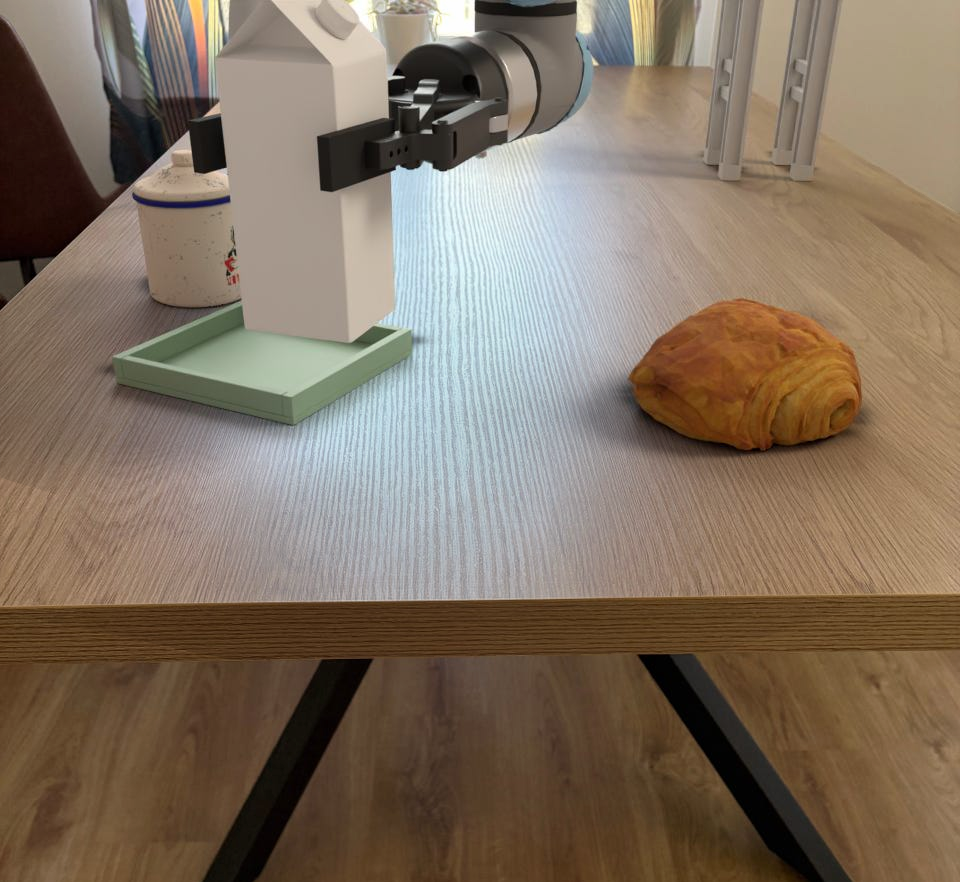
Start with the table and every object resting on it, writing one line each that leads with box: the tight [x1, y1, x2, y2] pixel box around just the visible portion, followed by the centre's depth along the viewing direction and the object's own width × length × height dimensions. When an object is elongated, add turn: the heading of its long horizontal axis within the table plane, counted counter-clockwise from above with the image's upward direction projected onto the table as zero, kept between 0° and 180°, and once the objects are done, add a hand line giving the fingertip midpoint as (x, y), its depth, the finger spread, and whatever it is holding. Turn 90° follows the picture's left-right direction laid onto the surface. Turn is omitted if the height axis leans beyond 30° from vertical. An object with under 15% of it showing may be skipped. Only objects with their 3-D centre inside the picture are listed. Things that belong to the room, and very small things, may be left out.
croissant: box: [627, 297, 863, 452], centre depth 76 cm, size 14×16×8 cm
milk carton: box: [213, 0, 396, 343], centre depth 65 cm, size 7×7×19 cm
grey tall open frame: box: [702, 0, 843, 182], centre depth 133 cm, size 16×16×35 cm
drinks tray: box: [111, 299, 413, 426], centre depth 83 cm, size 16×16×2 cm
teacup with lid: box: [131, 149, 242, 308], centre depth 96 cm, size 12×9×12 cm
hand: (258, 155), depth 61 cm, fingers closed on milk carton, 8 cm apart
